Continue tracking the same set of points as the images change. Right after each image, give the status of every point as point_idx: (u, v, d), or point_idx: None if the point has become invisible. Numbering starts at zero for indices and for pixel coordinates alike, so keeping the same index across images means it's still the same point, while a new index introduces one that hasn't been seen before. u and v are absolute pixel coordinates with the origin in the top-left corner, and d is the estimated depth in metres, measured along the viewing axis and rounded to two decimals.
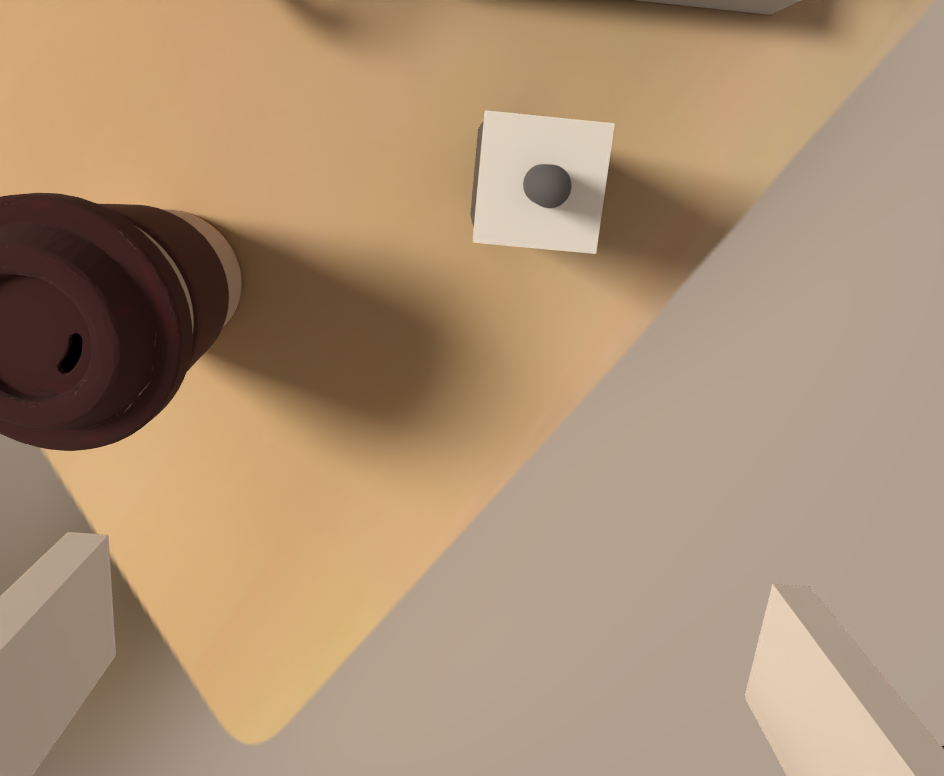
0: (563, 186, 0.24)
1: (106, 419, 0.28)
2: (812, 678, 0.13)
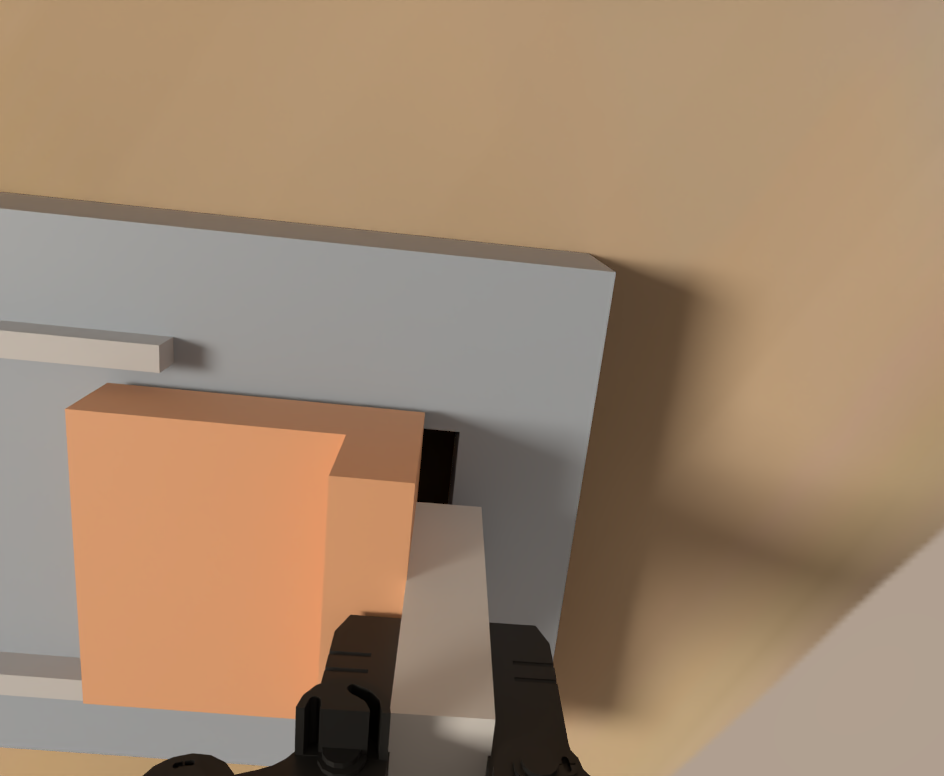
0: None
1: None
2: None
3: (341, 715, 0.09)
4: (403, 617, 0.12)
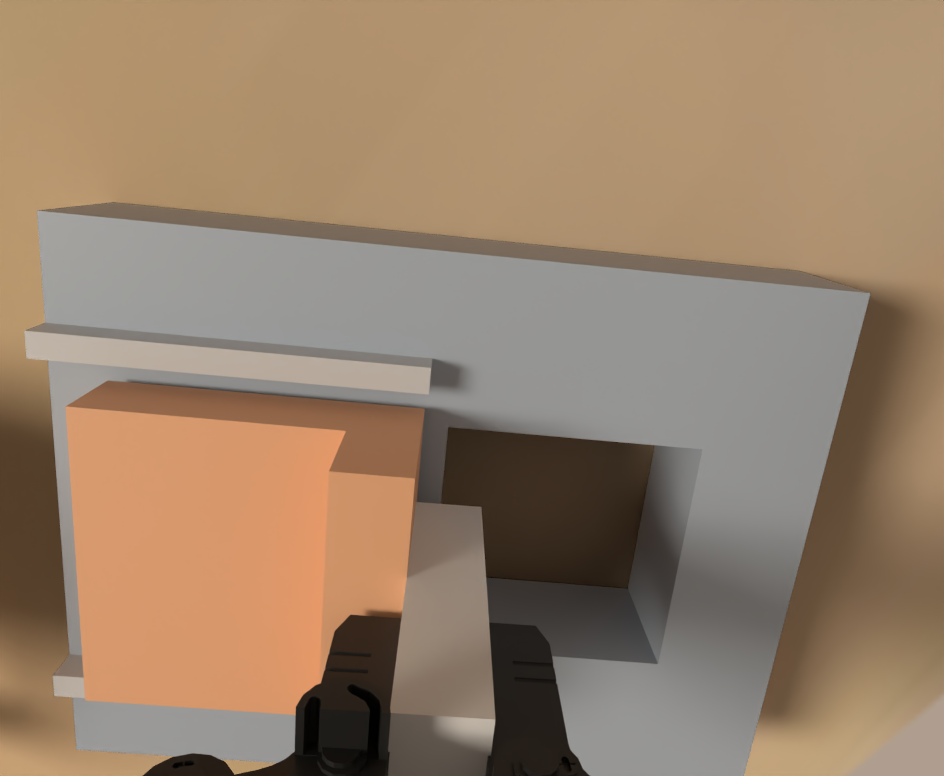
0: None
1: None
2: None
3: (341, 715, 0.09)
4: (403, 617, 0.12)
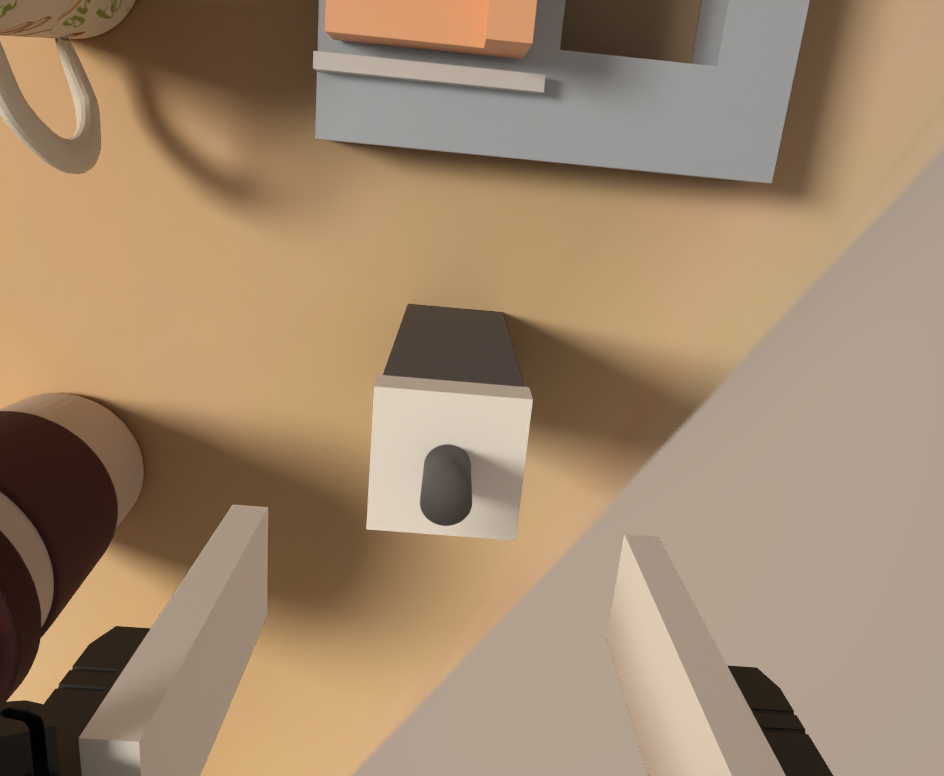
0: (462, 501, 0.19)
1: None
2: (642, 613, 0.14)
3: None
4: (151, 630, 0.11)
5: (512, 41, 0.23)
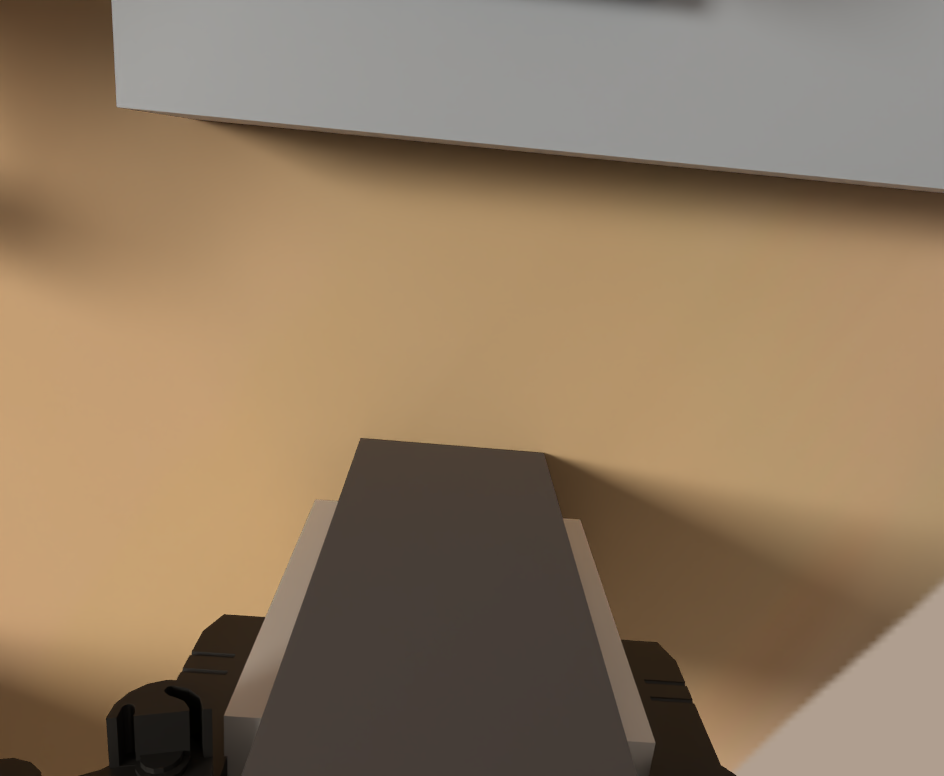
0: None
1: None
2: None
3: (158, 719, 0.09)
4: (267, 617, 0.12)
5: None
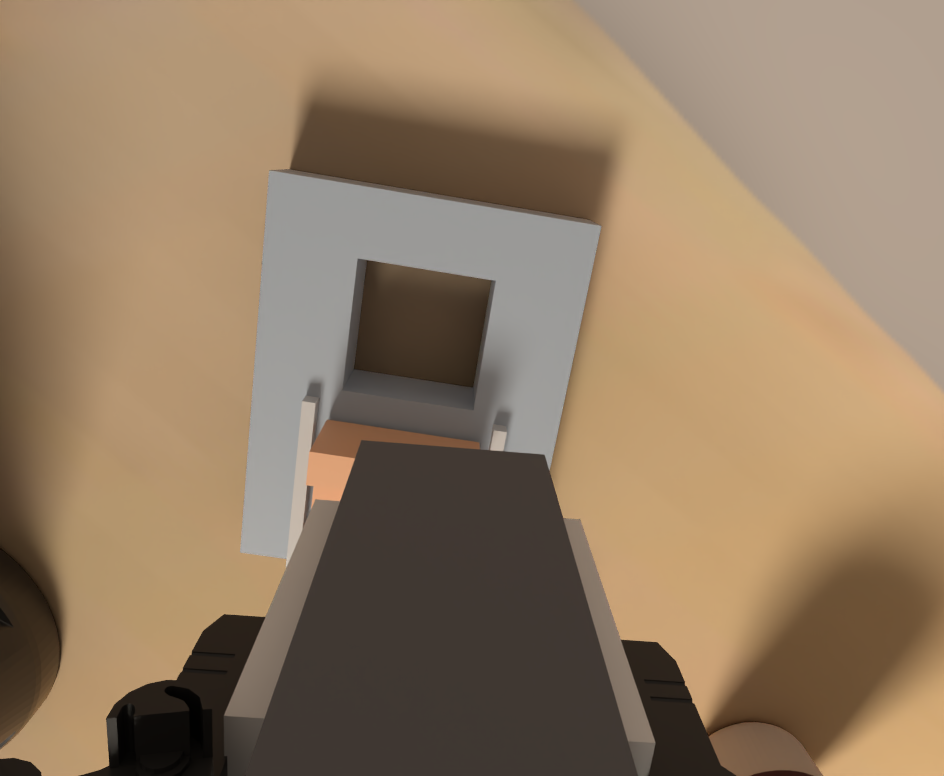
0: None
1: None
2: None
3: (158, 719, 0.09)
4: (267, 617, 0.12)
5: None
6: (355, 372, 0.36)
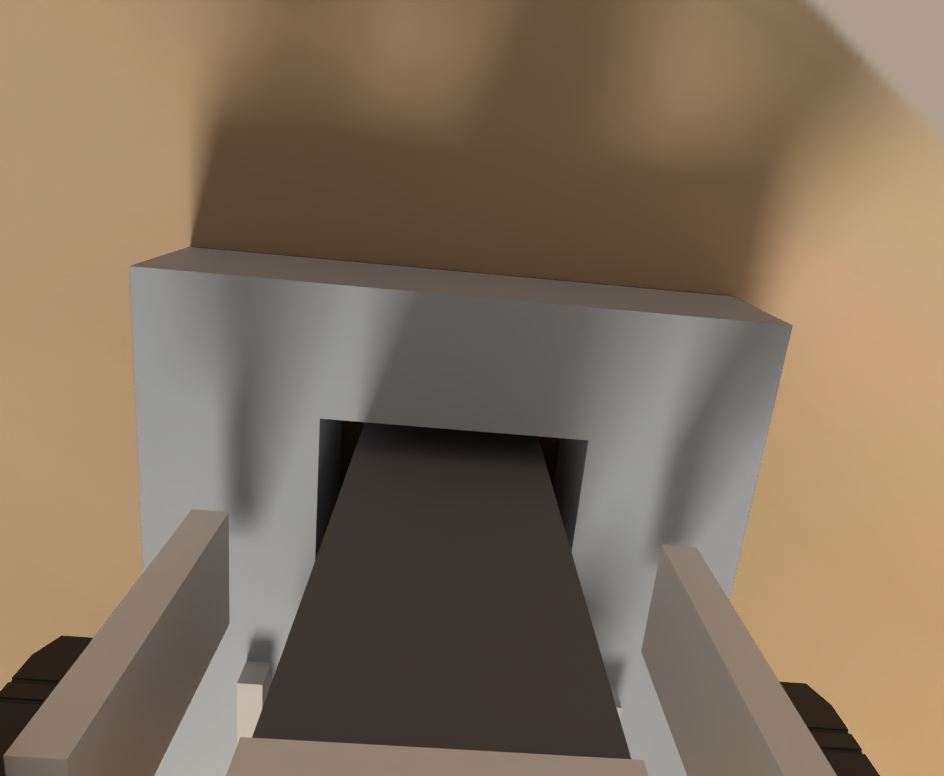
0: None
1: None
2: (684, 626, 0.14)
3: None
4: (93, 640, 0.11)
5: None
6: None
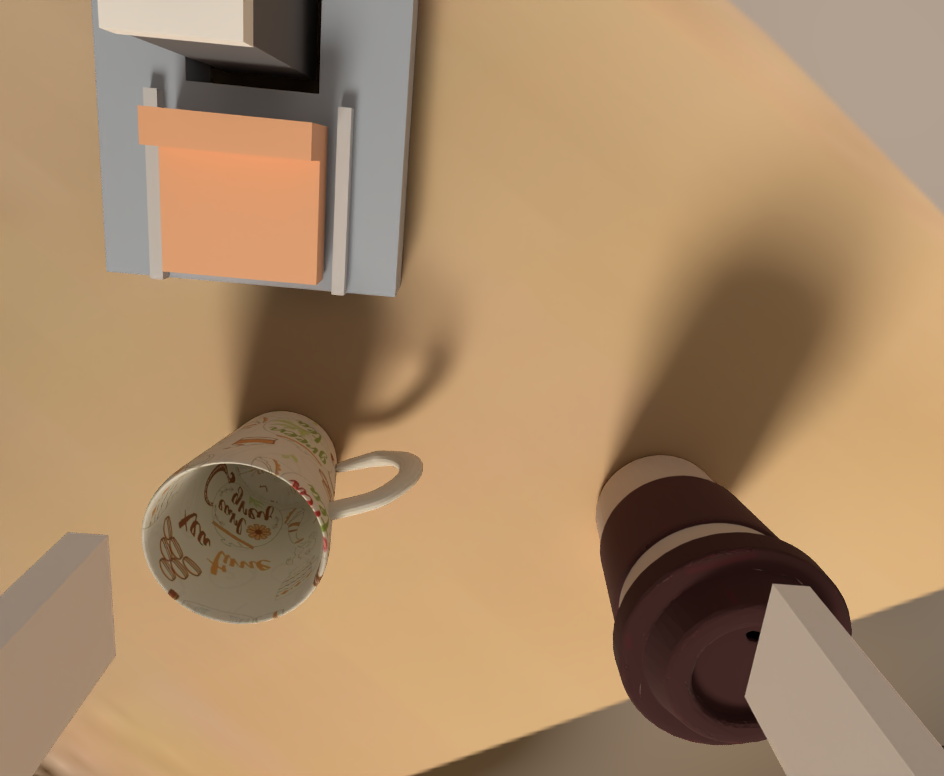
0: None
1: None
2: (812, 678, 0.13)
3: None
4: None
5: (311, 139, 0.30)
6: None
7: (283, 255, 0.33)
